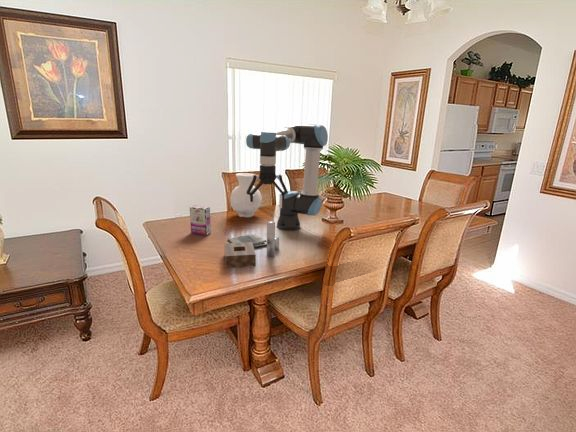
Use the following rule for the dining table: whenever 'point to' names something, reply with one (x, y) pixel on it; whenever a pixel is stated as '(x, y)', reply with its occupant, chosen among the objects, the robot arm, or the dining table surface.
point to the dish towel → (249, 240)
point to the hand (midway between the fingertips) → (267, 207)
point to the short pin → (276, 243)
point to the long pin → (270, 239)
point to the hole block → (239, 255)
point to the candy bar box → (200, 220)
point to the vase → (244, 196)
